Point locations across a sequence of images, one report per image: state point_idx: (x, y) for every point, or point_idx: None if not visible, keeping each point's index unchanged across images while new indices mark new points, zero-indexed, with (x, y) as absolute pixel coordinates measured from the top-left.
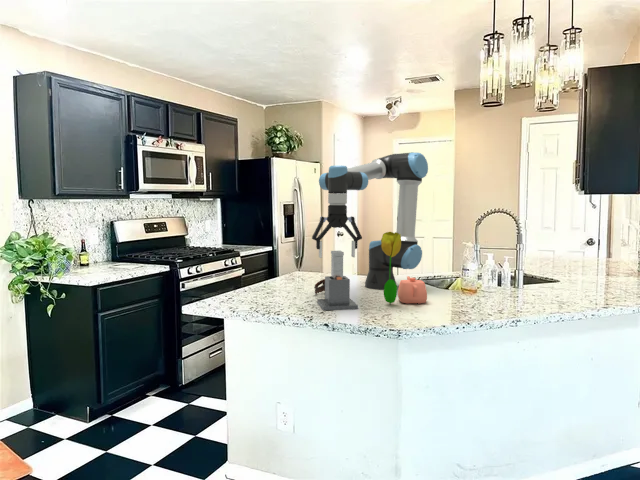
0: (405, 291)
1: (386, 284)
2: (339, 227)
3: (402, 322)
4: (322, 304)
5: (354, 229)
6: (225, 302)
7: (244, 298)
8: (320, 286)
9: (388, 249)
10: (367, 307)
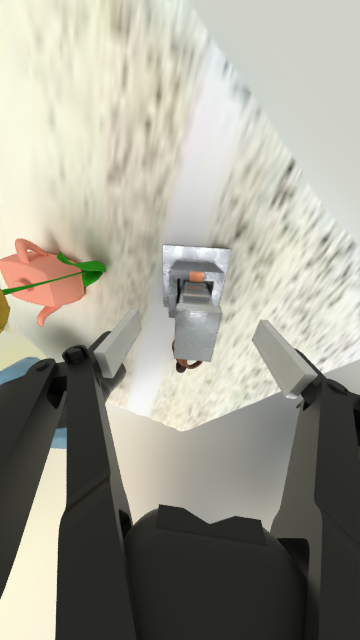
0: (55, 263)
1: (84, 269)
2: (185, 516)
3: (85, 51)
4: (225, 269)
5: (30, 455)
6: (346, 341)
7: (305, 355)
8: None
9: None
10: (144, 254)
